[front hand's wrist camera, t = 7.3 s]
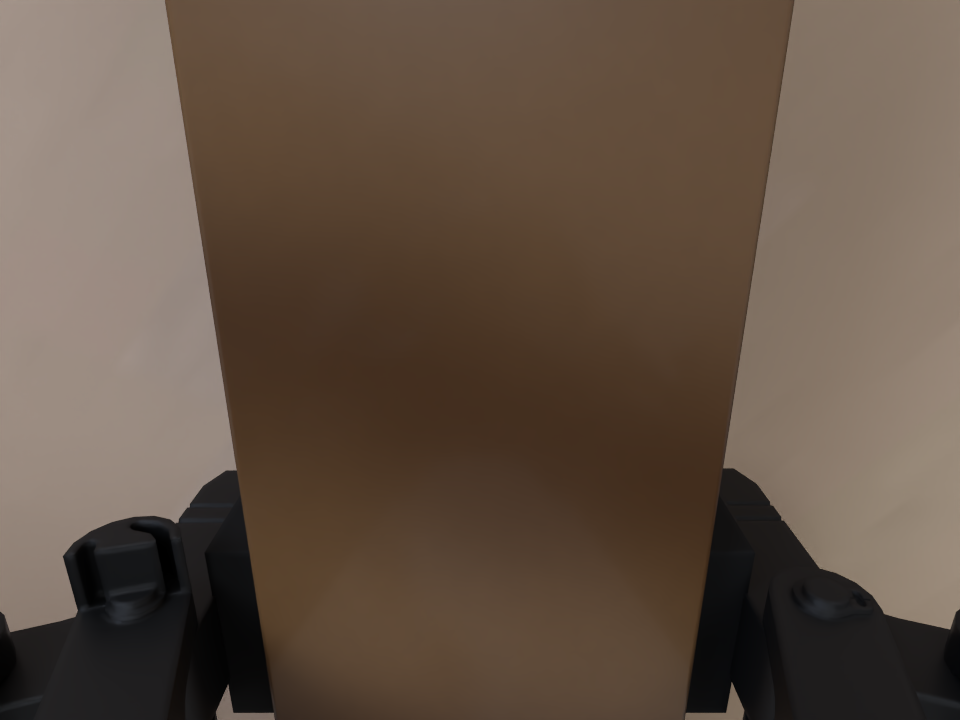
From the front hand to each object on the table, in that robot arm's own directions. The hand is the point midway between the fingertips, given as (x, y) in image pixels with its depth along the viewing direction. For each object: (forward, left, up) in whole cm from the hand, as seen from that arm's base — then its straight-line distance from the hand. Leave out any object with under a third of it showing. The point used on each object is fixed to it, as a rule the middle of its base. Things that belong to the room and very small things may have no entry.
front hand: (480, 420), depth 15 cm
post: (+19, +14, -1) cm, 23 cm away
